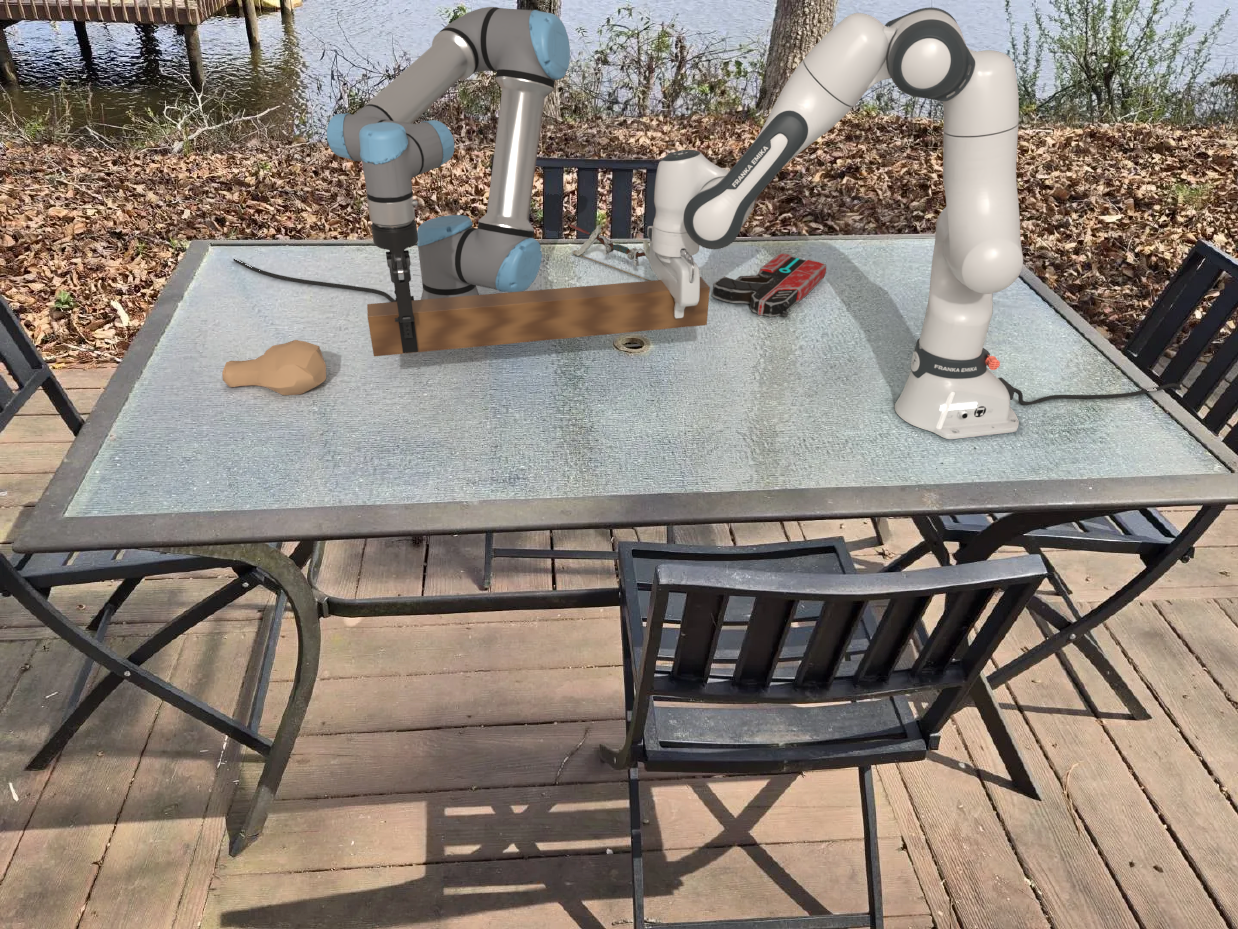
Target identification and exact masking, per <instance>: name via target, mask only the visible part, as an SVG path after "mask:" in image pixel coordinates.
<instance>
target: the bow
mask: <svg viewBox="0 0 1238 929" xmlns="http://www.w3.org/2000/svg"><path fill="white" fill-rule="evenodd" d="M567 225H568V226H569V227H571V228H573V229H575V230H577V231H579V232H581V233H583V234H585V235H586V234H587V235H589V238H588V239H587V240H586V241H584V243H583V244H581V246H580V248H578V250H577V249H575V250H572V252H571V253H572V254H573V255H574V256H577V257H578V256H579V257H583V258H585V259H588V260H591V261H594V262H596V263H599V264H601V265H605V266H607V267H610V268H613V269H615V270H619V271H621V272H623V273H626V274H629V275H632V276H635V277H637V278H640V279H642V280H645V281H651V280H650V279H647V278H645V277H643V276H642V277H641V276H640V275H637V274H633V273H631V272H628V271H626V270H623V269H620V268H618V267H615V266H612V265H609V264H607V263H603V262H601V261H598V260H595V259H593V258H590V257H587V256H584V254H585V253H587V251H588V250H589V249H590V248H591V247H592V245H593V244H595V243H596V242H597V241H598V242H600V244H602V245H603V246H604V250H603V256H608V255H609V254H610V253H614V251H615V252H619V253H621V254H624V255H627V259H628V260H630V261H633V262H632V263H633V267H638V266H640V264H639V262H640V261H639V258H640V257H641V258H642V257H646V259H647V261H648V262H649V263H650V243H649V241H648V240H647V239H645V240H643V241H642V242H643V243H642V244H643V245H642V247H643V248H637V247H636V246H635V247H633V248H629V247H628V246H625V245H622V244H619V243H614V239H608V238H607V237H606V236H604V235H602V234H601V233H602V225H601V224H598V225H596V227H595V229H594V230H593V231H592V232H589V231H588V230H586V229H584V228H581V227H580V226H577V225H574V224H570V223H567ZM656 278H657V280H659V278H658V277H657V276H656Z"/></svg>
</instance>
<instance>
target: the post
mask: <svg viewBox="0 0 1238 929" xmlns="http://www.w3.org/2000/svg"><path fill="white" fill-rule="evenodd" d="M710 291H711V288H710V286H709V284H708V283H707V282H706V281H705V280H704V278H703V277H702V276H700V297H699V302H698V304H697V305H695V306H686V307H685V309H684V316H683V317H682V318H675V317H674V315H673V307H675V301H674V297H673V296H672V295H671V293H670V291H669V290H668V288H667V287H666V286H665V284H664V283H663V282H662V281H661V280H658V279H655V280H650V281H648V280H645V281H644V280H641V281H631V282H620V283H619V282H618V283H607V284H594V285H584V286H582V285H581V286H570V287H569V286H568V287H558V288H547V289H545V288H544V289H534V290H525V291H521V292H498V293H497V292H496V293H486V294H479V295H472V296H460V297H448V298H436V299H424V300H421V299H414V300H412V309H413V315H414V323H415V331H416V339H417V347H418V352H410V353H409V354H415V353H426V352H427V353H428V352H437V351H446V350H459V349H467V348H480V347H490V346H491V347H492V346H499V345H500V346H502V345H511V344H520V343H521V344H522V343H531V342H532V343H533V342H541V341H553V340H564V339H574V338H583V337H584V338H585V337H595V336H606V335H618V334H627V333H637V332H648V331H659V330H667V329H668V330H669V329H679V328H680V329H681V328H689V327H701V326H707V325H708V316H709V314H708V313H709V304H710V303H709V302H710ZM366 304H367V305H366V307H367V308H366V309H367V310H366V311H367V312H366V314H367V322H368V329H369V335H370V341H371V347H372V353H373V357H382V356H383V357H384V356H394V355H406V354H407V353H403V350H402V343H401V335H400V328H399V322H395V318H398V317H399V313H398V306H397V302H391V301H389V302H377V303H366Z"/></svg>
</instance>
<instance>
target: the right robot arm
mask: <svg viewBox="0 0 1238 929" xmlns="http://www.w3.org/2000/svg"><path fill="white" fill-rule="evenodd" d="M957 22H958V21H956V19H955V18H954V16H952V14H950V13H949V12H947V11H946V10H944V9H942V8H939V7H932V6H929V7H922V8H919V9H916V10H912V11H911V12H908V13H906V14H904V15H901V16H898V17H897V18H893V19H891V20H889V21H887V22H886V23H885V24H884V23H882V22H881V21H880V20H878V19H877V18H876V17H874V16H872V15H870V14H867V13H862V12H856V13H855V12H853V13H851V14H849V15H847V16H846V17H844V18H843V19H841V21H840V22H838V23H837V24H836V25H835V26H834V27H832V29H830V30H829V31H828V32H826V34H825V35H824V36H823V37H822V38H821V39H820V40H819V41H818V42H817V43H816V44H815V46H814V47H813V48H812V49H811V50H810V51H809V52H808V53H807V54H806V56H805V57H804V58H803V59H802V60H801V62H799V64H798V65H797V67H796V68H795V70H794V71H792V74H791V75H790V76H789V78H788V80H787V81H786V83H785V84H784V86H783V88H782V90H781V92H780V93H779V95H778V97H777V99H776V101H775V103H774V104H773V107H772V108H771V110H770V113H769V115H768V117H767V119H766V121H765V123H764V124H763V126H762V128H761V130H760V132H759V133H758V135H757V136H756V138H755V139H754V140H753V142H752V143H751V145H750V146H749V147H748V149H747V150H746V151H745V152H744V153H743V155H741V157H740V158H739V159H738V161H737V162H736V163H735V164H734V165H733V167H732V168H731V169H730V170H728V169H725V168H722V167H720V166H718V165H716V164H715V163H714V162H712V161H710V160H709V159H708V158H707V157H706V156H705V155H704V154H703V153H702V152H701V151H699V150H694V149H682V150H676V151H674V152H669V153H668V154H665V156H664V157H663V158H661V160H659V163H658V165H657V169H656V175H655V182H654V193H653V194H654V195H653V203H654V207H655V215H654V219H653V223H652V224H653V225H649V226H647V232H646V233H647V237H648V239H649V246H650V262H649V264H650V268H651V271H652V272H653V273H654V275H655V276H656V278H657V277H658V278H659V280H661V281H662V282H663V283H664V284H665V286H666V287H667V288H668V290H669V291H670V293H671V295H672V296H673V297H674V301H675V307H673V315H674V317H675V318H682V317H683V316H684V309H685V307H686V306H695V305H697V304H698V302H699V297H700V277H701V276H700V268H699V264H698V263H697V262H695V261H694V257H693V256H694V255H697V254H698V253H699V251H700V247H702V248H704V249H708V250H720V249H721V250H722V249H724V248H726V247H728V246H730V245H731V244H733V242H735V240H736V239H737V237H738V236H739V234H740V232H741V229H742V227H743V226H744V224H746V222H747V220H748V218H749V217H750V216H751V213H752V212H753V210H754V208H755V204H756V200H757V198H758V197H759V196H760V195H761V193H762V192H763V191H764V190H765V189H766V187H767V186H769V184H770V183H771V182H772V181H773V180H774V178H775V177H776V176H777V175H778V174H779V173H780V171H781V170H782V169H783V168H784V167H785V166H786V165H787V164H788V163H789V162H791V161H792V160H793V159H794V158H795V157H797V156H798V155H799V154H800V153H801V152H803V151H804V150H805V149H807V148H808V147H809V146H810V145H812V144H814V143H815V142H816V141H817V140H818V139H820V138H821V137H822V136H824V135H825V134H826V133H827V132H829V131H830V130H831V129H832V128H833V127H834V126H836V125H837V124H838V123H839V122H840V121H841V120H842V119H843V118H844V117H845V116H846V115H848V113H849V112H850V111H851V110H852V109H853V107H854V106H856V104H857V103H858V102H859V101H860V99H861V98H862V97H863V96H864V95H865V93H867V92H868V90H870V89H871V88H872V87H874V86H875V85H876V84H878V83H879V82H882V81H885V80H890V79H891V80H892V82H893V84H894V85H895V87H896V88H898V89H899V90H900V91H901V92H902V93H904V94H906V95H907V96H910V97H914V98H919V99H927V100H933V101H938V102H942V106H943V107H942V108H943V141H942V142H943V143H942V144H943V145H942V147H943V148H942V152H943V153H942V182H943V188H944V196H945V203H946V205H945V207H944V208H943V209H942V210H941V212H940V213H939V214H938V217H937V219H936V221H935V222H936V223H935V237H934V244H933V253H932V261H931V267H930V268H931V269H930V270H931V271H930V279H929V281H930V282H929V291H928V292H929V293H928V299H927V306H926V310H925V313H924V318H923V321H922V322H923V323H922V327H921V331H920V335H919V338H918V339H917V340H916V342H915V345H914V350H913V353H912V356H911V362H910V371H909V375H908V377H907V380H906V382H905V384H904V387H903V389H902V391H901V393H900V395H899V397H898V398H897V400H896V402H895V403H894V411H895V413H896V415H898V417H900V419H902V420H903V421H905V422H906V423H908V424H909V425H911V426H913V427H916V428H919V429H921V430H924V431H929V432H931V433H934V434H936V435H937V436H939V437H941V438H943V439H946V440H956V439H957V440H958V439H967V438H974V437H982V436H983V437H984V436H992V435H1001V434H1002V435H1003V434H1009V433H1016V432H1018V430H1019V425H1020V421H1019V419H1018V415H1017V413H1016V412H1015V411H1014V409H1013V408H1012V407H1011V401H1013V400H1014V396H1015V394H1016V395H1017V396H1018V403H1019V404H1020V405H1022V406H1030V405H1031V406H1032V405H1036V404H1041V403H1043V402H1046V401H1050V400H1063V399H1064V400H1101V399H1103V400H1104V399H1120V398H1129V397H1134V396H1139V395H1144V394H1149V393H1150V392H1149V391H1147V390H1146V388H1145V389H1140V390H1137V391H1131V392H1124V393H1123V392H1121V393H1110V394H1109V393H1108V394H1051V395H1046V396H1043V397H1041V398H1038V399H1035V400H1031V401H1026V400H1024V395H1023V392H1022V391H1021V390H1020V389H1019V388H1016V387H1014V386H1013V385H1012V384H1010V382H1008V381H1007V380H1006V379H1005V378H1003V377H998V376H996V375H995V374H994V373H993V372H992V371H995V370H998V369H999V368H1000V366H1001V361H999V359H998V358H997V357H996V356H994V355H991V353H990V352H989V351H988V350H987V349H986V348H985V347H984V346H985V342H986V338H987V335H988V332H989V328H990V324H991V321H992V318H993V313H994V304H993V303H994V302H993V301H994V300H993V298H994V294H995V293H996V294H997V293H999V292H1001V291H1004V290H1006V289H1007V288H1009V287H1010V286H1012V285H1013V284H1014V283H1015V282H1016V280H1017V279H1018V278H1019V277H1020V275H1021V272H1022V270H1023V266H1024V255H1023V254H1024V253H1023V249H1022V240H1021V220H1020V205H1019V204H1020V203H1019V194H1018V193H1019V192H1018V183H1017V159H1018V138H1019V137H1018V136H1019V116H1020V103H1019V102H1020V101H1019V86H1018V78H1017V77H1018V76H1017V73H1016V72H1017V71H1016V66H1015V63H1014V61H1013V59H1012V58H1011V57H1010V56H1009V55H1008V54H1006V53H1004V52H1002V51H998V50H992V49H985V50H983V49H982V50H979V51H977V50H973V49H970V48H969V47H968V46H967V43H966V40H965V38H964V35H963V32H962V29H961V27H960V26H959V24H958V23H957ZM658 278H657V279H658ZM1152 388H1153V389H1154V388H1156V389H1157V391H1156V392H1159V391H1162V390H1163V391H1164V390H1166V389H1170V388H1175V389H1176V390H1177V391H1182V387H1181V386H1180V384H1178V383H1175V382H1172V383H1167V384H1163V385H1160V386H1155V387H1152Z"/></svg>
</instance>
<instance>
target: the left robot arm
mask: <svg viewBox="0 0 1238 929" xmlns="http://www.w3.org/2000/svg"><path fill="white" fill-rule="evenodd" d="M570 60H571V46H570V40H569V36H568V32H567V29H566V26H565V25H564V22H563V21H562V20H561V18H560V17H558V15H556V14H555V13H551V12H547V11H540V10H538V9H534V10H533V9H520V8H519V9H518V8H505V7H498V6H487V7H480V8H477V9H474V10H472V11H469V12H467V13H465V14H463V15H461V16H459V17H458V18H456V19H454V20H453V21H452V22H450V23H448V24H447V25H446V26H444V27H443V28H442V29H441V30H440V31H438V32H437V33H436V34H435V35H434V36H433V39H432V42H431V46H430V47H429V48H428V49H427V50H426V51H425V52H424V53H422V54H421V55H420V56H419V57H418V58H417V59H415V61H413V62H412V63H411V64H410V65H409V66H408V67H406V68H405V69H404V70H403V71H402V72H401V73H400V74H399V75H398V76H396V77H395V78H394V79H393V80H392V81H391V82H390V83H388V84H387V85H386V86H385V87H384V88H383V89H382V90H380V91H379V92H378V93H377V94H376V95H375V96H374V97H373V98H372V99H370V101H368V102H367V103H366V104H365V105H364V106H362V108H360V109H359V110H358V111H357V112H356V113H354V114H352V113H350V112H346V113H336V114H334V115H333V116H332V117H331V118H330V120H329V121H328V123H327V127H326V139H327V140H326V141H327V143H328V146H329V149H330V150H331V152H332V153H333V154H334V155H336V156H337V157H340V158H344V159H348V160H351V161H352V162H361V165H362V171H363V178H364V184H365V189H366V203H367V211H368V215H369V220H370V222H371V225H370V229H371V235H372V241H373V244H374V246H376V247H377V248H379V249H381V250H387V251H385V257H386V264H387V267H388V270H389V276H390V280H391V282H392V284H393V286H394V291H393V293H394V295H395V299H394V298H393V297H392V296H391V295H390V294H388V293H387V292H385V291H382V290H381V289H380V290H379V289H377V288H371V287H363V286H355V285H349V284H343V283H342V284H341V283H333V282H332V283H331V282H325V281H318V280H311V279H304V278H297V277H292V276H286V275H281V274H277V273H274V272H269V271H267V270H263V269H261V268H257V267H256V266H253V265H250V266H251V267H252V266H253V267H252V268H251V267H249V266H247V265H245V264H247V263H246V262H244V261H242V260H240V261H241V262H243V263H241V262H239V261H237V260H235V259H234V258H233V259H232V260H233V262H235V263H237V264H238V265H240V266H242V267H244V268H246V269H248V270H251V271H253V272H255V273H258V274H261V275H263V276H266V277H271V278H274V279H279V280H282V281H289V282H294V283H299V284H306V285H307V284H308V285H312V286H313V285H315V286H321V287H328V288H335V289H336V288H337V289H343V290H344V289H345V290H352V291H358V292H359V291H360V292H366V293H372V294H376V295H380V296H383V297H385V298H386V299H387V300H388V301H389V302H397V306H398V313H399V317H398V318H395V322H399V328H400V335H401V343H402V350H403V353H406V354H411V353H410V352H417V353H419V352H418V347H417V339H416V331H415V323H414V315H413V309H412V300H415V298H414V297H415V296H414V295H412V294H411V285H410V282H411V281H412V274H411V265H412V264H411V262H412V261H411V256H410V251H409V249H408V248H412V247H414V246H416V245H417V250H418V251H417V252H418V258H419V259H418V260H419V267H420V275H421V276H420V278H421V284H422V292H421V297H420V300H424V299H436V298H448V297H460V296H472V295H480V293H479V291H478V288H477V287H481V288H487V289H490V290H495V291H498V292H499V293H509V292H521V291H527V290H528V289H529V288H530V287H531V285H532V284H533V283H534V282H535V280H536V278H537V276H538V274H539V272H540V268H541V265H542V259H543V252H542V246H541V244H540V242H539V241H538V240H537V239H535V238H534V236H535V235H534V234H535V229H534V227H533V225H532V224H531V223H530V220H529V217H530V211H531V210H530V209H531V203H532V196H533V188H534V181H535V175H536V174H535V173H536V167H537V159H538V152H539V144H540V137H541V129H542V121H543V116H544V108H545V99H546V98H547V97H548V96H549V95H550V94H552V93H553V92H554V90H555V82H556V81H559V80H561V79H564V78H565V76H566V74H567V71H568V70H569V67H570ZM479 72H494V73H495V81H496V82H497V84H498V86H499V87H500V89H501V96H500V103H499V111H498V119H497V126H496V127H497V128H496V134H495V135H496V137H495V144H494V151H493V161H492V166H491V167H492V168H491V175H490V176H491V177H490V184H489V192H488V201H487V209H486V213H485V215H483V216H482V217H481V218H479V219H478V220H477V221H478V222H477V228H476V227H473V225H474V223H473V220H472V218H470V217H469V216H467V215H464V214H449V215H442V216H437V217H434V218H430V219H428V220H425V221H424V222H422V223H421V224H419V226H418V225H417V221H415V218H416V211H415V207H416V206H418V205H419V203H418V200H417V199H414V193H413V192H414V191H413V183H412V181H413V180H412V179H414V178H416V177H417V176H420V175H422V174H425V173H427V172H429V171H432V170H435V169H439V168H440V167H441V166H442V165H444V164H446V163H447V162H449V161H450V160H451V159H452V157H453V156H454V154H455V140H454V136H453V134H452V132H451V130H450V129H449V127H448V126H447V125H446V124H445V123H443V122H441V121H439V120H436V119H433V120H432V119H431V120H423V121H421V122H420V123H414V122H416V121H417V120H418V119H419V118H420V117H421V116H423V114H424V113H425V112H427V111H428V109H430V108H431V107H432V105H434V104H435V103H436V102H437V101H438V100H439V99H440V98H441V97H442V96H443V95H444V94H446V92H447V91H449V89H451V88H452V87H453V86H454V85H455V84H456V83H457V82H458V81H459V80H460V81H464V80H467V79H469V78H470V77H472V75H473V74H475V73H479ZM259 270H260V271H259Z"/></svg>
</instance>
